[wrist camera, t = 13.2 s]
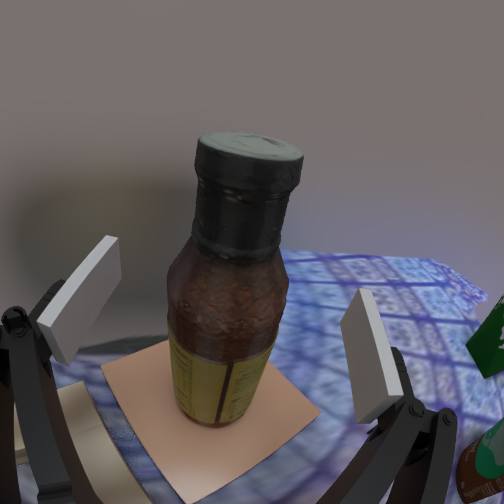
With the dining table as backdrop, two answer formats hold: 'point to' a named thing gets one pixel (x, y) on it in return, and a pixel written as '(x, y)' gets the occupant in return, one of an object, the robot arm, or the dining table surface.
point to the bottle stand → (92, 449)
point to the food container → (482, 466)
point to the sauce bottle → (230, 274)
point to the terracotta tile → (200, 436)
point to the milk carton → (489, 342)
